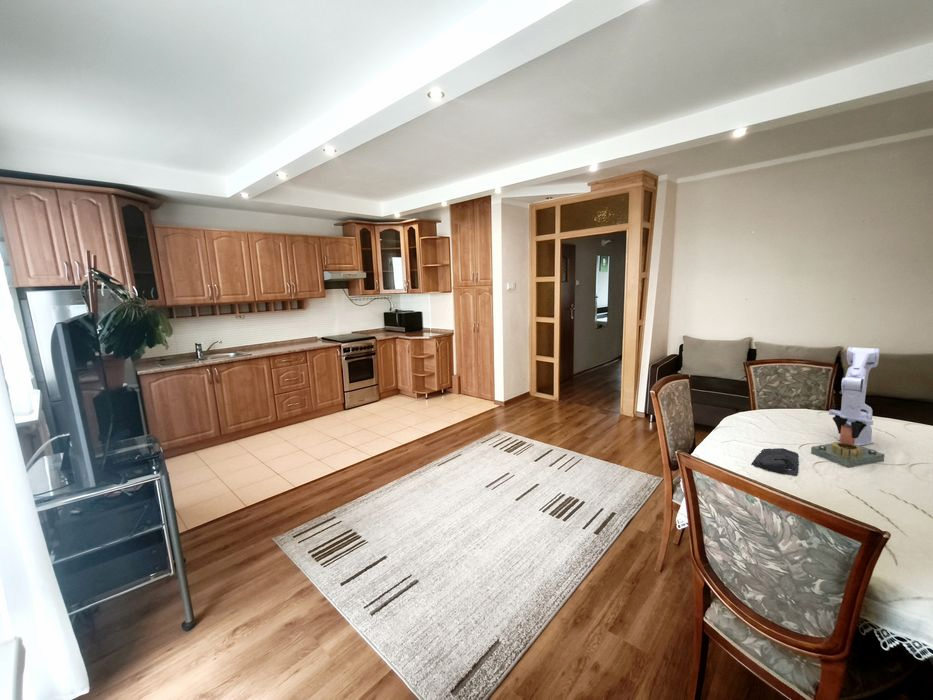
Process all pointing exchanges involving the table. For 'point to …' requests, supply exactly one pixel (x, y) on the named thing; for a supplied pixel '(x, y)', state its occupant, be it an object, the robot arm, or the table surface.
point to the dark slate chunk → (778, 461)
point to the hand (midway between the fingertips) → (848, 435)
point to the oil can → (846, 434)
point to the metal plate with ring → (847, 454)
